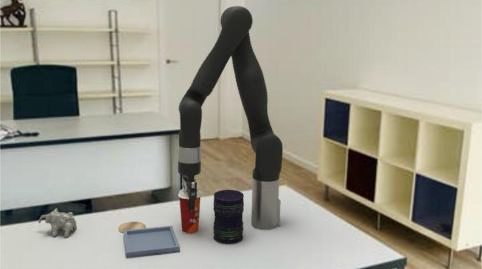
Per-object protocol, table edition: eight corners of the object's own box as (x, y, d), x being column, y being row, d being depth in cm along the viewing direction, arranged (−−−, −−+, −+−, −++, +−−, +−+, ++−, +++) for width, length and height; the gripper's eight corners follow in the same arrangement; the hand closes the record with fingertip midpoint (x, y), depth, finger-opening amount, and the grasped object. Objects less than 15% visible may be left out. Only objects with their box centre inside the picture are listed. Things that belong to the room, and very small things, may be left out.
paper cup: (197, 235, 158) (197, 196, 155) (175, 233, 160) (175, 193, 156) (204, 226, 166) (204, 188, 162) (183, 224, 167) (182, 186, 164)
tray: (172, 230, 162) (172, 225, 162) (179, 251, 147) (179, 246, 147) (123, 235, 158) (123, 230, 157) (126, 258, 143) (126, 252, 142)
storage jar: (249, 239, 156) (250, 196, 153) (224, 247, 151) (225, 202, 147) (231, 228, 164) (231, 187, 161) (207, 236, 158) (207, 193, 155)
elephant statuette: (75, 238, 156) (75, 216, 154) (35, 240, 152) (35, 217, 151) (77, 227, 164) (77, 206, 163) (39, 228, 161) (39, 207, 159)
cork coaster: (144, 221, 168) (144, 220, 168) (146, 232, 160) (146, 231, 160) (117, 224, 166) (117, 223, 166) (118, 235, 158) (118, 233, 157)
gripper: (205, 164, 151) (204, 212, 155) (196, 152, 165) (195, 197, 168) (181, 165, 149) (181, 214, 153) (174, 153, 162) (174, 198, 166)
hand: (188, 205), depth 161 cm, fingers open, 8 cm apart
